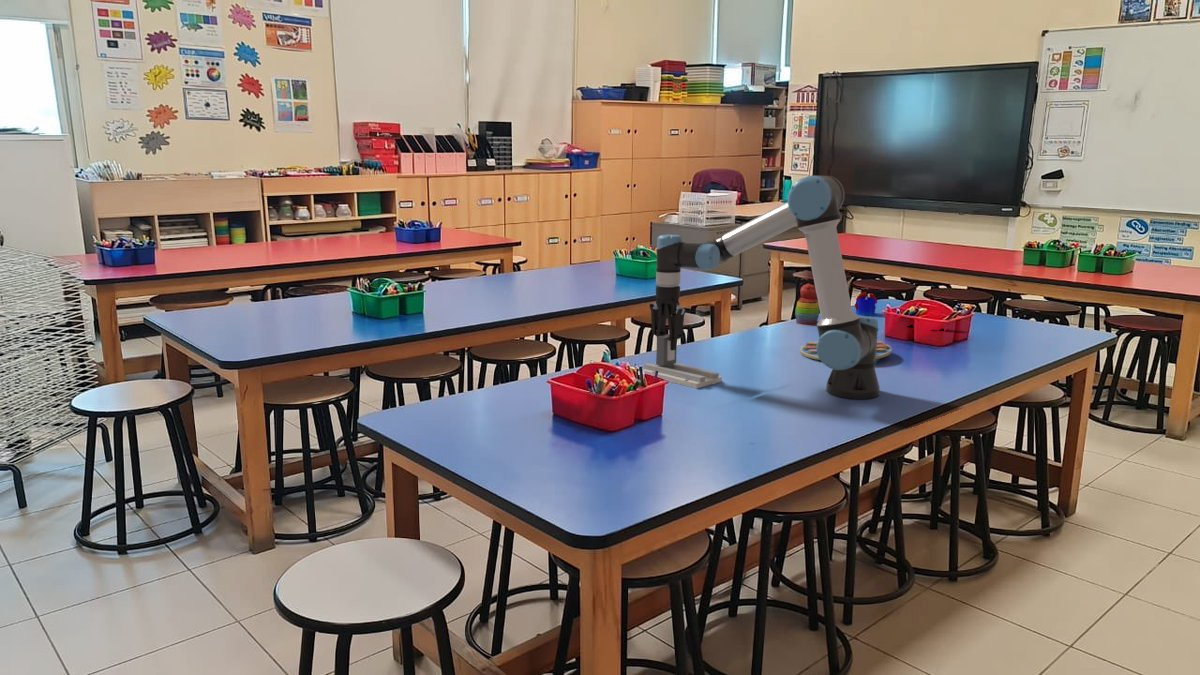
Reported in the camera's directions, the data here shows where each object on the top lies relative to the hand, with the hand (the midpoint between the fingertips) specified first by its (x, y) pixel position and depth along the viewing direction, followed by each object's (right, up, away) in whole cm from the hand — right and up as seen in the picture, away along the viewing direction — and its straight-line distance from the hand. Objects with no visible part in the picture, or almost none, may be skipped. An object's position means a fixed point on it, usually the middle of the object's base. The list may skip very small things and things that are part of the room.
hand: (666, 358), depth 274 cm
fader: (0, -3, +1) cm, 3 cm away
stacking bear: (+63, +10, +77) cm, 100 cm away
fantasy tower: (+91, +14, +95) cm, 132 cm away
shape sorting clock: (+64, 0, +28) cm, 70 cm away
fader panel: (+4, -6, -3) cm, 8 cm away
